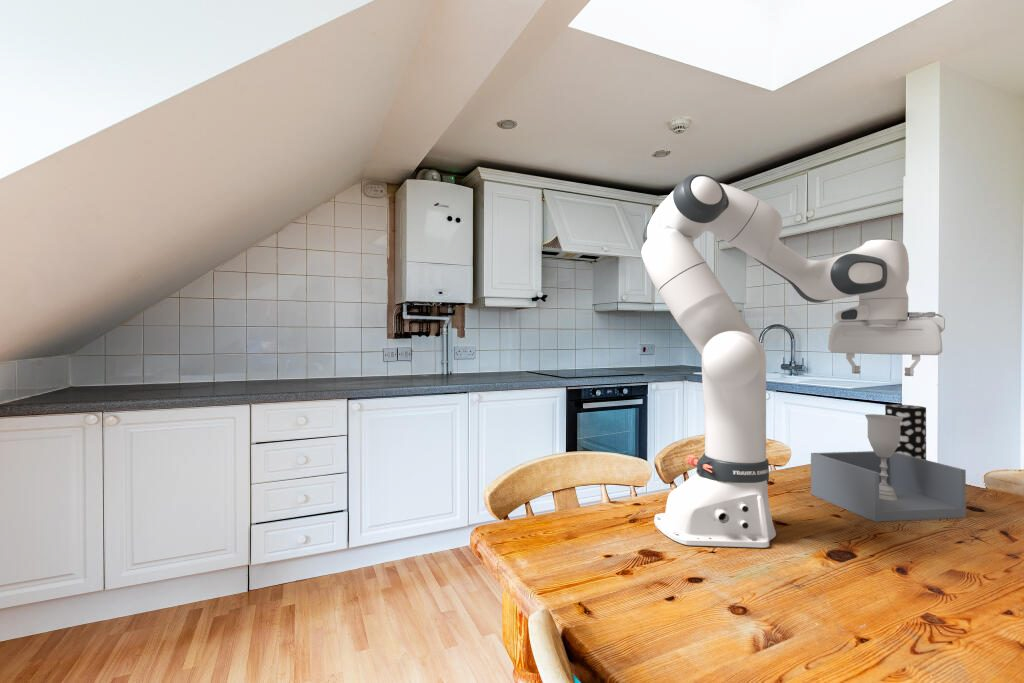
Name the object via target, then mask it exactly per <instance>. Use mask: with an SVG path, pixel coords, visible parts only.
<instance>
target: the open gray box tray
mask: <svg viewBox="0 0 1024 683" xmlns="http://www.w3.org/2000/svg"><path fill="white" fill-rule="evenodd" d="M886 464H887V466H888V468H887V470H886V472H887V474H888V475H889V476H888V477H887V479H886V482H887V484H888V486H890V487H892V488H893V489H894V492H895V493H896V496H897V498H898V499H897V500H885V499H879V484H880V483H881V476H880V475H879V474H880V473H881V468H880V465H881V457H878V456H877V455H876V454H875V452H874V450H873V451H872V450H871V451H869V450H868V451H838V452H837V451H836V452H835V451H833V452H811V453H810V494H811V495H812V496H814V497H816V498H818V499H821V500H823V501H825V502H828V503H830V504H832V505H835V506H837V507H840V508H842V509H844V510H846V511H848V512H851V513H853V514H856V515H858V516H861V517H863V518H865V519H868V520H870V521H872V522H875V523H879V522H895V521H896V522H897V521H900V522H901V521H919V520H920V521H921V520H940V519H941V520H942V519H943V520H944V519H945V520H946V519H959V518H960V519H962V518H964V519H965V518H966V516H967V515H966V514H967V513H966V510H967V508H966V507H967V506H966V504H967V502H966V500H967V498H966V494H967V493H966V491H967V490H966V480H967V478H966V476H967V475H966V473H967V472H966V471H967V470H966V469H964V468H960V467H957V466H951V465H947V464H945V463H940V462H936V461H931V460H927V459H926V460H924V459H920V458H916V457H912V456H908V455H904V454H900V453H896V452H894V454H893V455H892V457H890V458H887V460H886Z"/></svg>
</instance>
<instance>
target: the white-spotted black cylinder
mask: <svg viewBox="0 0 1024 683" xmlns="http://www.w3.org/2000/svg"><path fill="white" fill-rule="evenodd" d="M884 407H885V408H884V409H885V410H884V411H885V412H884V415H890V416H897V417H902V418H903V419H902V421H901V423H900V442H899V444H898V447H897V449H896V450H895V452H896V453H900V454H904V455H908V456H912V457H916V458H920V459H924V460H927V407H926V406H921V405H920V406H919V405H911V404H895V403H894V404H885V406H884Z"/></svg>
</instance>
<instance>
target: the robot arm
mask: <svg viewBox="0 0 1024 683" xmlns="http://www.w3.org/2000/svg"><path fill="white" fill-rule="evenodd" d="M782 230H783V220H782V215H781V214H780V212H779V211H778V210H777V209H776V208H775V207H773V206H772V205H771V204H770V203H768V202H766V201H764V200H763V199H761V198H759V197H757V196H755V195H753V194H751V193H749V192H747V191H745V190H742V189H740V188H737V187H735V186H731V185H729V184H725V183H720V182H719V181H718V180H717V179H715V178H714V177H712V176H710V175H707V174H700V173H699V174H698V173H695V174H691V175H689V176H687V177H685V178H683V179H682V180H681V181H680V182H678V183H677V184H676V185H675V187H674V188H673V190H672V191H671V192H670V194H669V195H667V197H665V199H664V200H663V201H661V203H659V205H658V207H657V208H656V209H655V211H654V213H653V214H652V216H651V218H650V219H648V221H647V222H646V225H645V228H644V229H643V234H642V239H643V245H642V247H641V253H640V254H641V259H642V261H643V264H644V267H645V269H646V271H647V274H648V276H649V278H650V280H651V282H652V284H653V285H654V288H655V289H656V291H657V292H658V295H659V296H660V297H661V299H662V300H663V301H664V303H665V305H666V307H667V308H668V310H669V312H670V313H671V315H672V316H673V318H674V319H675V321H676V323H677V324H678V325H679V327H680V328H681V329H682V331H683V332H684V333H685V335H686V336H687V338H689V341H691V343H692V345H693V346H694V347H695V349H696V350H697V351H698V353H699V354H700V356H701V378H702V396H703V408H704V410H703V412H704V453H703V454H702V456H701V457H700V458H698V457H697V456H695V455H693V454H689V455H688V456H687V457H686V459H685V460H686V463H687V464H688V465H690V466H691V467H694V468H695V467H696V472H695V473H694V474H692V476H689V478H687V479H685V481H684V482H682V483H681V484H679V485H678V486H677V487H675V488H674V489H672V490H671V491H670V492H669V493H668V496H667V500H666V504H665V510H664V511H665V512H660V513H656V514H654V519H653V524H654V525H655V527H656V529H658V530H659V531H660V533H662V534H663V535H664V536H666V537H668V538H669V539H671V540H673V542H674V541H675V542H677V543H679V544H682V545H685V546H703V547H707V546H708V547H709V546H710V547H730V548H731V547H733V548H735V547H737V548H761V549H762V548H763V549H764V548H766V549H767V548H769V547H770V542H771V540H773V539H774V538H776V536H777V532H776V529H775V526H774V523H773V519H772V514H771V513H772V512H771V509H770V501H769V493H768V483H769V479H770V465H769V464H770V463H769V459H768V458H767V356H766V351H765V348H764V347H763V345H762V344H761V342H760V340H759V339H758V337H757V336H756V335H755V333H754V331H753V330H752V328H751V327H750V325H749V324H748V323H747V321H746V319H745V318H744V316H743V315H742V313H741V312H740V311H739V309H738V307H737V306H736V305H735V303H734V302H733V301H732V299H731V297H730V296H729V293H727V291H726V289H725V288H724V286H723V285H722V284H721V282H720V281H719V279H718V277H717V276H716V275H715V273H714V271H713V269H711V267H710V266H709V263H707V260H705V258H704V257H703V256H702V254H701V253H700V252H699V250H698V249H697V248H696V247H695V243H694V241H696V240H697V239H698V238H700V237H701V236H702V235H703V234H704V233H705V232H710V233H712V234H713V235H715V237H718V238H719V239H721V240H723V241H725V242H726V243H728V244H729V245H730V246H731V245H732V246H733V247H735V248H737V249H739V250H740V251H742V252H744V253H746V254H747V255H749V256H750V257H751V258H752V259H754V260H755V261H757V263H760V264H761V265H763V266H764V267H766V268H767V269H768V270H771V271H772V272H773V273H774V274H776V275H778V276H779V277H780V278H782V279H784V280H786V281H787V282H788V284H790V285H791V287H793V289H794V290H795V292H797V294H798V295H799V296H800V297H801V298H802V299H804V300H805V301H808V302H809V303H812V304H813V303H814V304H816V303H817V304H821V303H824V302H828V301H832V300H838V299H845V298H853V297H857V296H858V305H857V306H853V307H849V308H846V309H842V310H839V311H837V312H835V314H834V320H835V321H836V322H835V323H833V324H832V326H831V328H830V330H829V335H828V343H827V349H828V350H829V352H830V353H833V354H846V355H845V358H846V360H847V361H848V363H849V364H850V366H851V374H855V375H856V374H858V375H860V374H861V365H857V364H856V363H855V361H854V360H853V359H854V358H855V357H856V356H855V354H869V355H871V354H872V355H874V354H875V355H908V356H909V355H910V356H911V360H912V361H913V362H912V364H911V365H910V367H904V376H905V377H914V373H915V372H914V369H915V368H916V366H917V365H918V364H919V363H920V361H921V356H939V355H941V353H943V339H942V334H941V333H942V332H944V330H945V328H946V319H945V318H944V316H943V315H941V314H940V313H936V311H935V312H934V311H927V312H921V311H920V312H919V311H913V312H912V311H911V312H909V295H908V291H907V285H908V282H909V279H910V264H909V263H910V262H909V254H908V250H907V248H906V245H905V244H904V243H903V242H901V241H899V240H896V239H890V238H875V239H870V240H867V241H865V242H864V243H863V244H861V245H860V246H859V247H856V248H855V249H852V250H850V251H848V252H845V253H842V254H840V255H836V256H832V257H829V258H826V259H822V260H821V259H820V260H819V259H818V260H817V259H816V260H813V259H812V260H811V259H808V258H805V257H803V256H802V255H800V254H799V253H797V252H796V251H794V250H793V249H791V248H790V247H789V246H787V245H785V244H784V243H782V242H781V240H780V235H781V233H782Z"/></svg>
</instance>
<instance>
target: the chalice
mask: <svg viewBox="0 0 1024 683" xmlns="http://www.w3.org/2000/svg"><path fill="white" fill-rule="evenodd" d="M864 416H865V419H866V420H867V438H868V441H869V444H870V446H871V448H872V450H873V451H874V452H875V454H876V455H877V456H878V457H881V465H880V468H881V473H880V474H879V475H880V476H881V483H880V484H879V499H885V500H897V499H898V498H897V496H896V493H895V492H894V489H893V488H892V487H890V486H888V484H887V482H886V479H887V477H888V476H889V475H888V474H887V472H886V470H887V468H888V466H887V464H886V460H887V458H890V457H892V455H893V454H894V452H895V450H896V449H897V447H898V444H899V442H900V423H901V421H902V419H903V418H902V417H897V416H890V415H885V414H877V413H875V414H872V413H871V414H865V415H864Z"/></svg>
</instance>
